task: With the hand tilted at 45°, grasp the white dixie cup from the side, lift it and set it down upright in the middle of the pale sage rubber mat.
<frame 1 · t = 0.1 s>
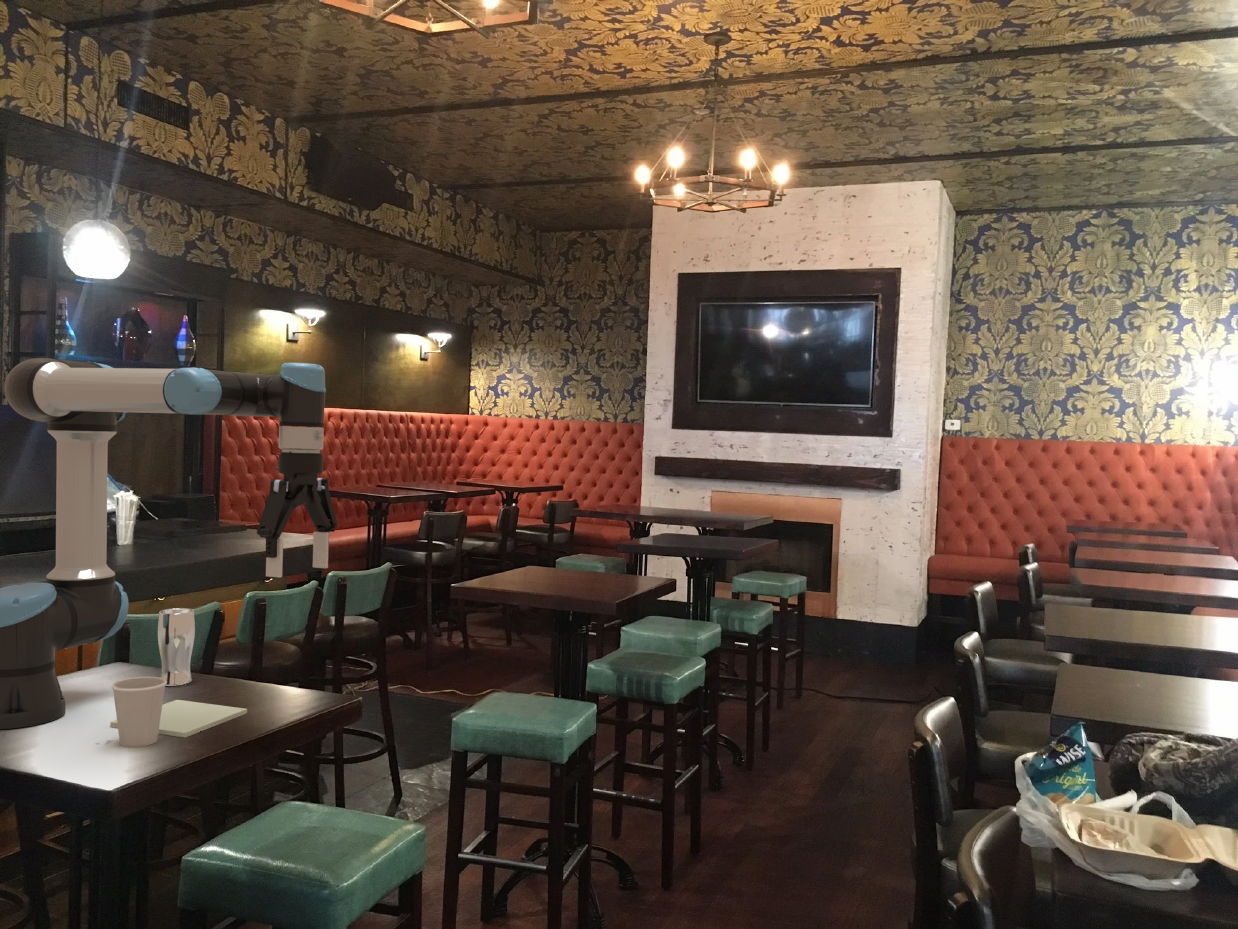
hand: (297, 572, 174), 28 cm above the table, tool pointing down, fingers open, 13 cm apart
dixie cup: (138, 743, 166), on the table
sage mat: (180, 719, 179), on the table
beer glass: (175, 684, 204), on the table
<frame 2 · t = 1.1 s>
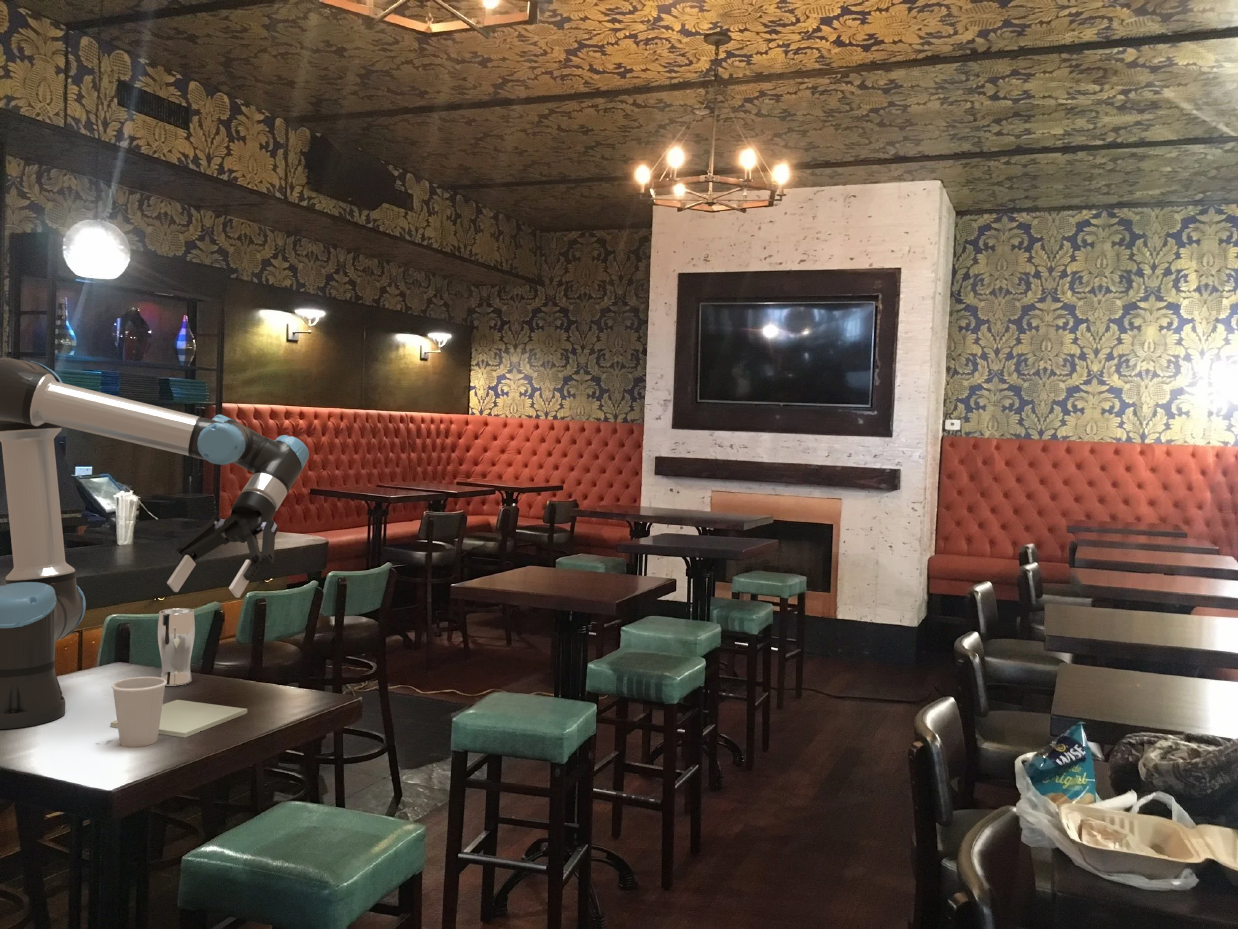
hand: (202, 590, 178), 24 cm above the table, tool tilted 45°, fingers open, 13 cm apart
nothing on the table moved.
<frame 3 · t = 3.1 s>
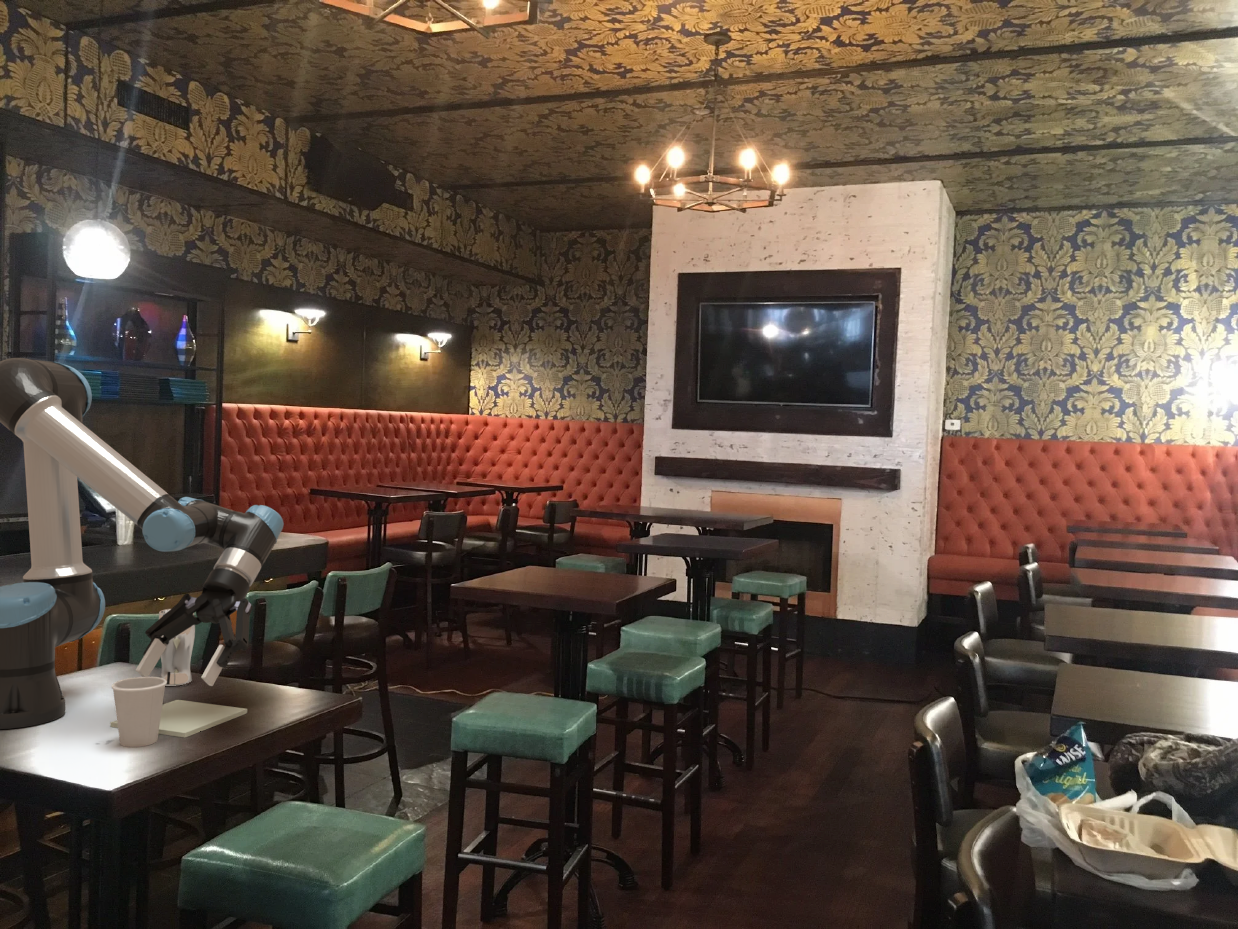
hand: (173, 678, 170), 10 cm above the table, tool tilted 45°, fingers open, 13 cm apart
nothing on the table moved.
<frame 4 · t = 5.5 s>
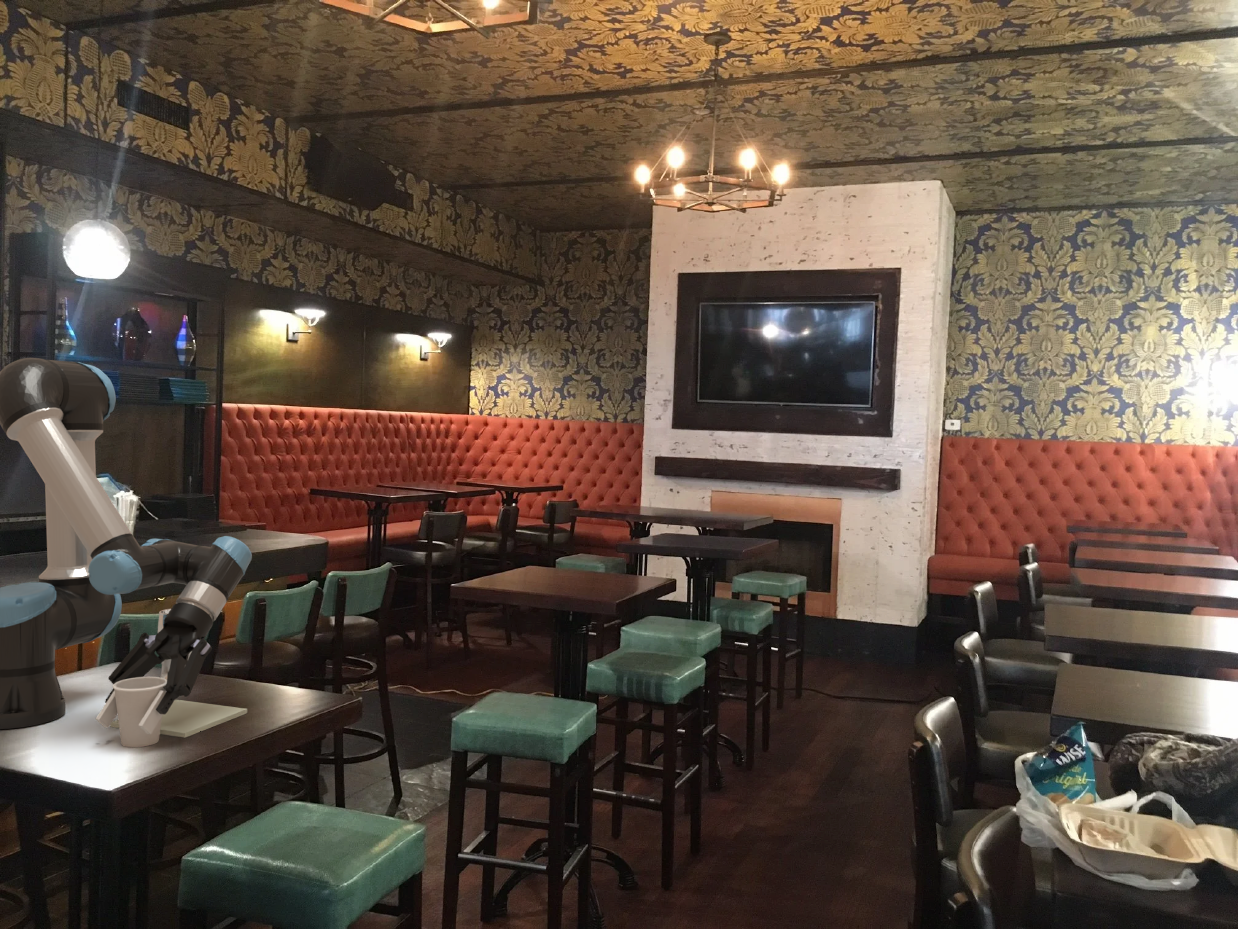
hand: (123, 726, 162), 4 cm above the table, tool tilted 45°, fingers closed on dixie cup, 8 cm apart
dixie cup: (140, 743, 166), on the table, touching gripper
everything else where it was.
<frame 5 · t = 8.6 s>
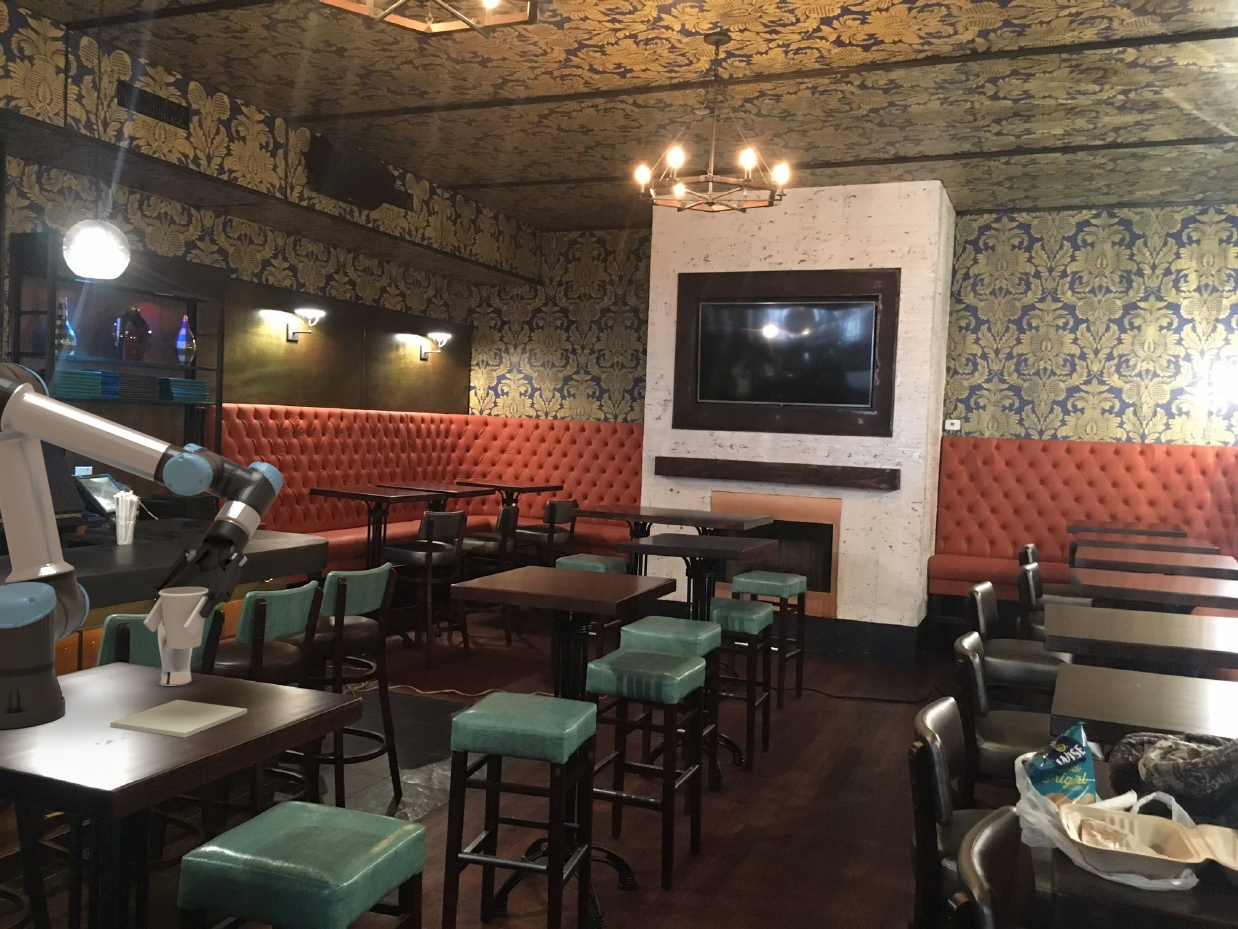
hand: (169, 629, 175), 17 cm above the table, tool tilted 45°, fingers closed on dixie cup, 8 cm apart
dixie cup: (183, 646, 179), point 13 cm above the table, touching gripper
everything else where it was.
when the fingers open (6 cm above the table, at t = 11.4 s): dixie cup drops 1 cm, resting on sage mat.
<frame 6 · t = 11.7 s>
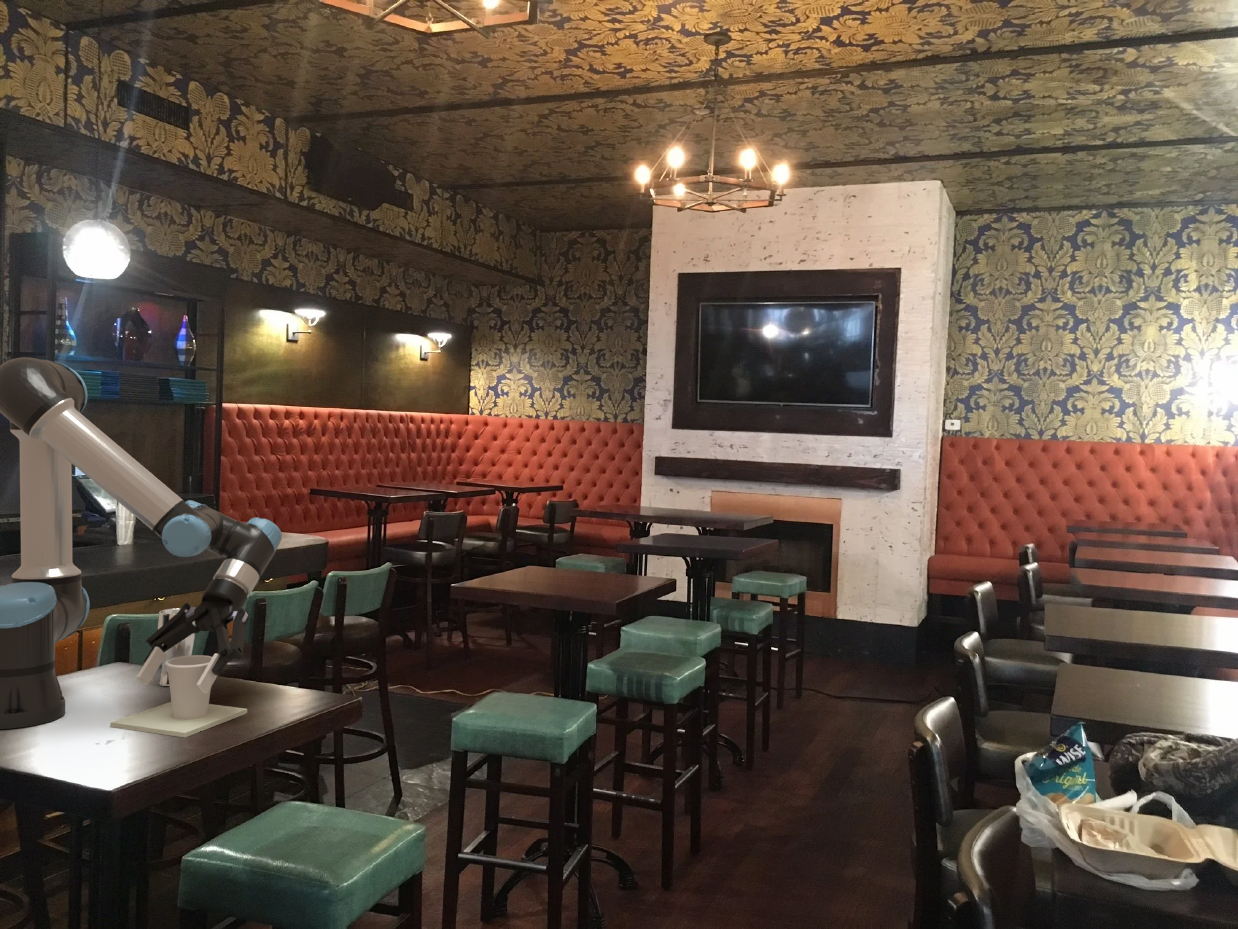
hand: (171, 685, 176), 7 cm above the table, tool tilted 45°, fingers open, 12 cm apart
dixie cup: (190, 716, 179), point 1 cm above the table, touching sage mat
everything else where it was.
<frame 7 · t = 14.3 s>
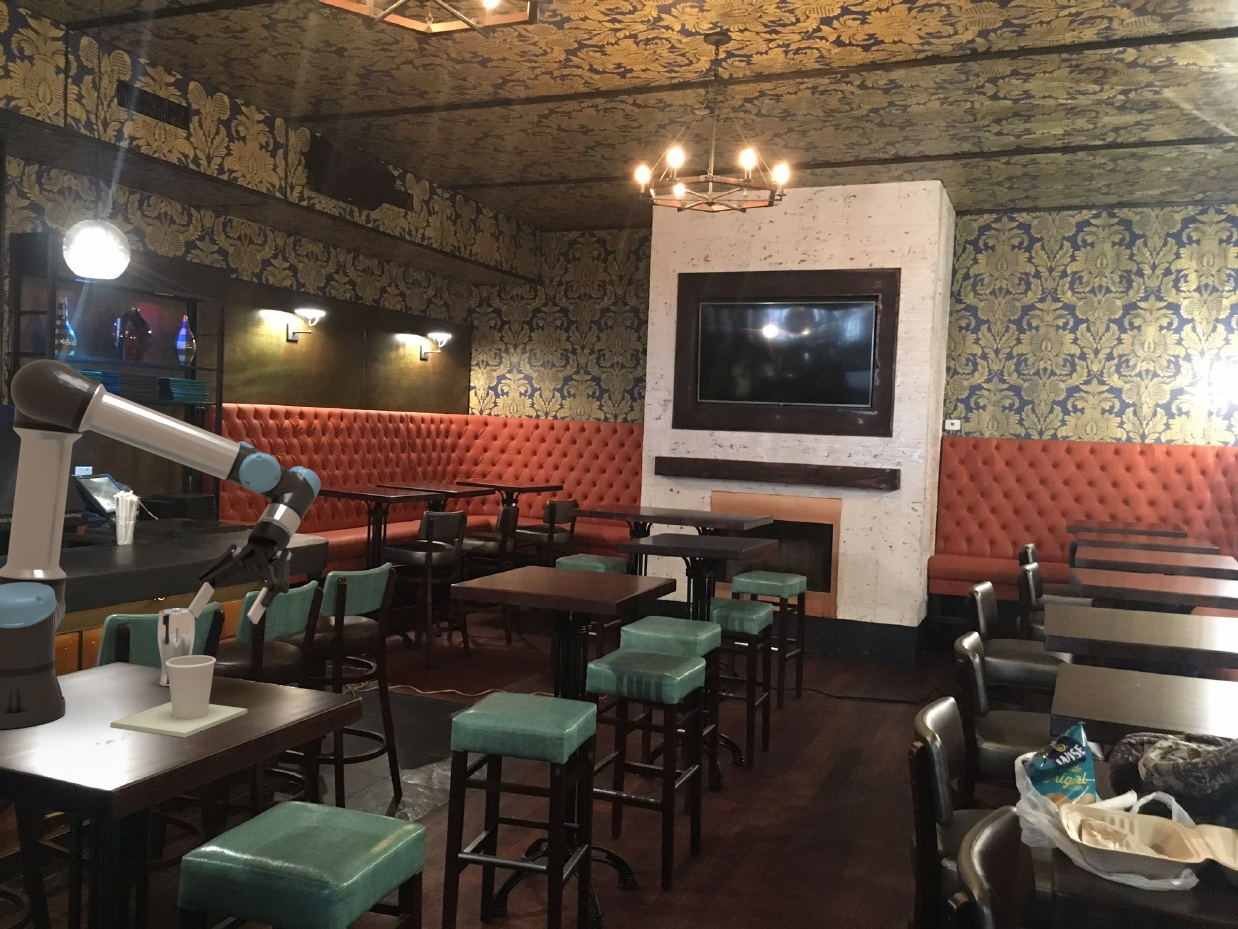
hand: (221, 616, 188), 17 cm above the table, tool tilted 45°, fingers open, 13 cm apart
nothing on the table moved.
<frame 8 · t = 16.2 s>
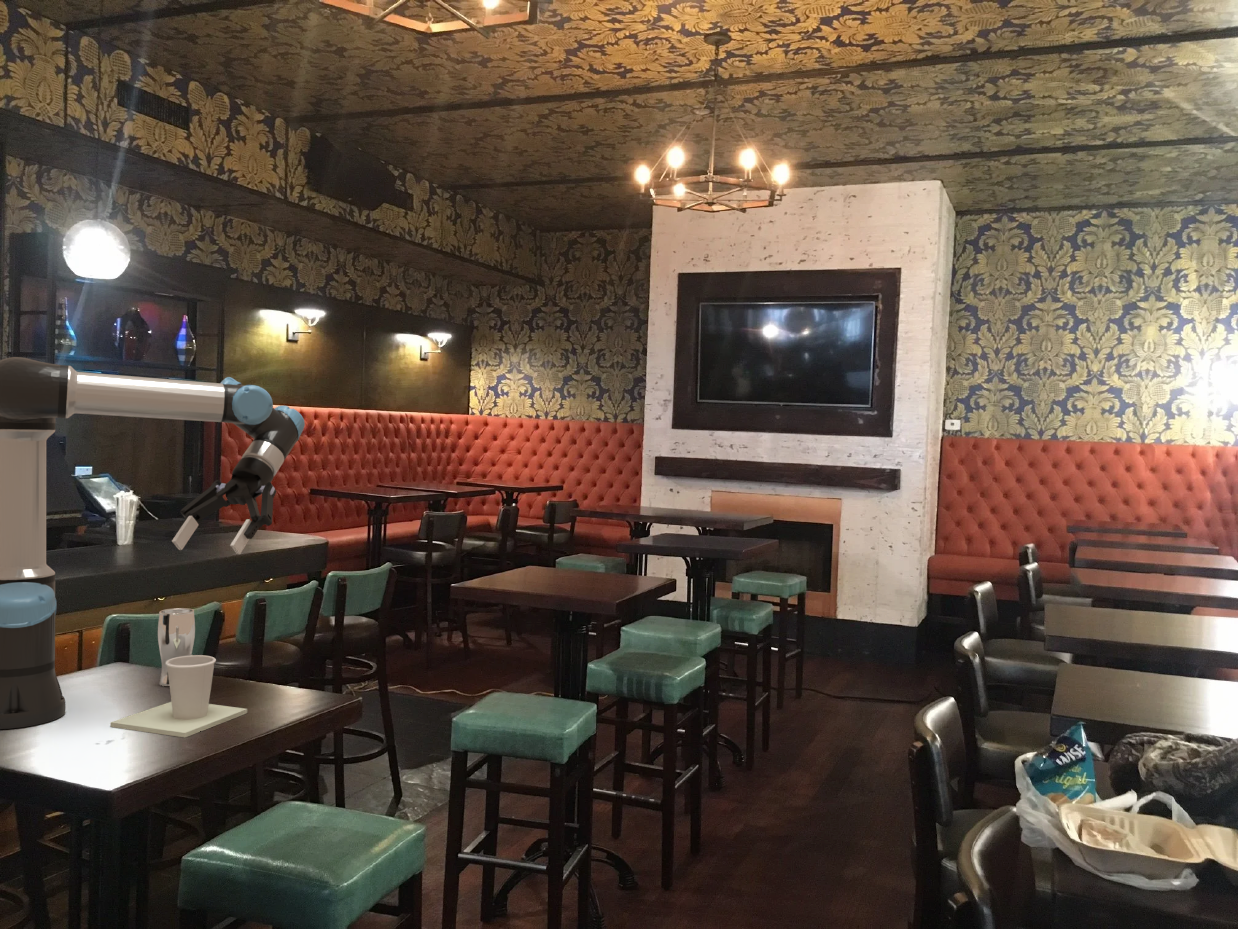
hand: (205, 547, 190), 30 cm above the table, tool tilted 45°, fingers open, 13 cm apart
nothing on the table moved.
at the end: dixie cup inside the target area on the sage mat (1.6 cm from its centre), point 0.6 cm above the sage mat's base; dixie cup tilted 0°; the gripper is holding nothing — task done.
